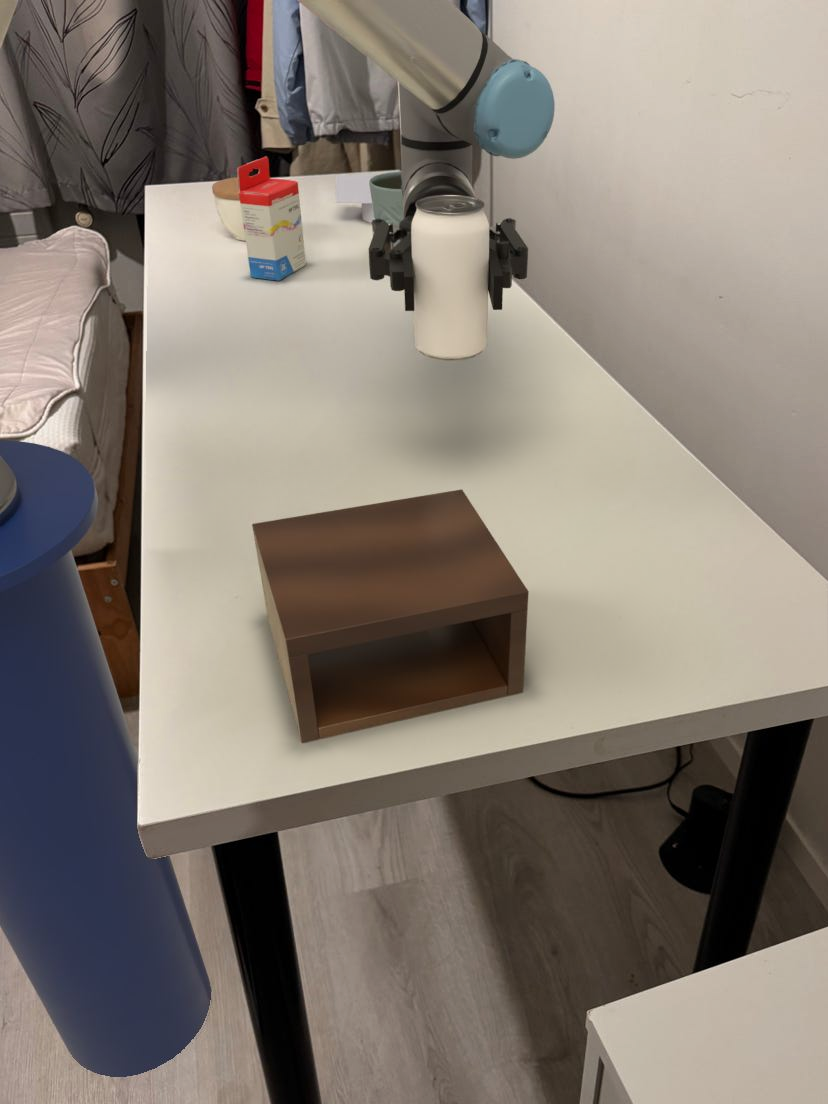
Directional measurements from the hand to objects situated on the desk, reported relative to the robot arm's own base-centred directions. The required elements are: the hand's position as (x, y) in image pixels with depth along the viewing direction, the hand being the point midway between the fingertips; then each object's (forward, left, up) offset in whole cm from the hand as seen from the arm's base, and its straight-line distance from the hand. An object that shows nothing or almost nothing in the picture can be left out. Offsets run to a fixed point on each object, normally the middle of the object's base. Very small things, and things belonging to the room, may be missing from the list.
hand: (453, 293), depth 75 cm
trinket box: (-90, -6, -20) cm, 93 cm away
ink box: (-71, -5, -20) cm, 74 cm away
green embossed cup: (-68, +14, -20) cm, 72 cm away
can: (-5, +1, -7) cm, 8 cm away
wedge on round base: (-95, +16, -20) cm, 99 cm away
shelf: (+20, -12, -19) cm, 30 cm away
